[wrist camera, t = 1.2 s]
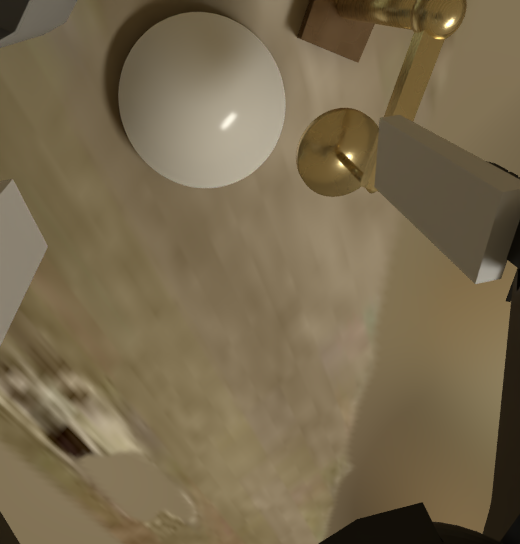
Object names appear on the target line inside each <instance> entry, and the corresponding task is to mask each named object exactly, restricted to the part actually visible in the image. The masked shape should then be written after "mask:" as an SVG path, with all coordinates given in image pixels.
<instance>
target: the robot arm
mask: <svg viewBox="0 0 520 544" xmlns="http://www.w3.org/2000/svg"><path fill="white" fill-rule="evenodd" d="M374 187H375V188H376V189H377V190H378V191H379V192H380V193H381V194H382V195H383V196H384V197H385V198H386V199H387V200H388V201H389V202H390V203H392V204H393V205H394V206H395V207H396V208H397V209H398V210H399V211H400V212H401V213H402V214H403V215H404V216H405V217H406V218H407V219H408V220H409V221H410V222H411V223H412V224H413V225H415V227H416V228H418V229H419V230H420V231H421V232H422V233H423V234H424V235H425V236H426V237H427V238H428V239H429V240H430V241H431V242H432V243H433V244H434V245H435V246H436V247H438V249H440V251H442V252H443V253H444V254H445V255H446V256H447V257H448V258H449V259H450V260H451V261H452V262H453V263H454V264H455V265H456V266H457V267H458V268H459V269H460V270H461V271H462V272H463V273H464V274H465V275H466V276H467V277H469V278H470V279H471V280H472V281H473V282H474V283H475V284H478V283H482V282H487V281H492V280H496V279H501V277H502V274H503V271H504V268H505V265H506V263H507V260H509V261H510V262H511V263H512V264H514V265H515V266H516V267H517V268H518V269H517V272H516V274H515V277H514V279H513V282H512V285H511V288H510V290H509V293H508V296H507V298H506V301H508V302H510V301H511V309H510V319H509V329H508V340H507V350H506V360H505V370H504V380H503V390H502V400H501V412H500V420H499V430H498V442H497V452H496V461H495V471H494V481H493V491H492V500H491V505H490V510H489V513H488V517H487V520H486V524H485V527H484V531H483V534H481V533H479V532H477V531H473V530H470V529H467V528H464V527H461V526H457V525H452V524H446V523H441V522H432V520H431V518H430V516H429V515H428V512H427V510H426V508H425V506H424V504H423V503H418V504H414V505H410V506H407V507H403V508H399V509H395V510H391V511H387V512H383V513H379V514H376V515H372V516H368V517H364V518H360V519H357V520H355V521H354V522H352V523H350V524H349V525H347V526H346V527H344V528H343V529H341V530H339V531H338V532H337V533H335V534H333V535H332V536H330V537H328V538H327V539H325V540H324V541H322V542H320V543H319V544H520V177H519V178H518V175H516V174H514V173H512V172H508V170H506V169H505V168H503V167H501V166H499V165H497V164H495V163H491V162H487V161H484V160H482V159H481V158H479V157H477V156H475V155H473V154H471V153H470V152H468V151H466V150H464V149H462V148H460V147H458V146H457V145H455V144H453V143H451V142H449V141H447V140H446V139H444V138H442V137H440V136H438V135H436V134H434V133H433V132H431V131H429V130H427V129H425V128H423V127H421V126H420V125H418V124H416V123H414V122H412V121H410V120H408V119H407V118H405V117H403V116H401V115H394V116H388V117H382V118H380V122H379V135H378V147H377V160H376V172H375V185H374ZM47 247H48V246H47V244H46V242H45V240H44V238H43V236H42V234H41V232H40V230H39V229H38V227H37V225H36V223H35V221H34V219H33V217H32V215H31V213H30V211H29V209H28V207H27V205H26V204H25V202H24V200H23V198H22V196H21V194H20V192H19V190H18V188H17V186H16V184H15V182H14V180H13V179H10V180H4V181H0V345H1V343H2V341H3V339H4V337H5V335H6V333H7V331H8V329H9V327H10V324H11V322H12V320H13V318H14V316H15V314H16V312H17V310H18V308H19V306H20V304H21V302H22V299H23V297H24V295H25V293H26V291H27V289H28V287H29V285H30V283H31V281H32V279H33V277H34V274H35V272H36V270H37V268H38V266H39V264H40V262H41V260H42V258H43V256H44V254H45V252H46V249H47ZM0 544H20V543H19V541H18V540H17V538H16V537H15V535H14V533H13V532H12V530H11V528H10V527H9V525H8V523H7V522H6V520H5V518H4V517H3V515H2V514H1V512H0Z"/></svg>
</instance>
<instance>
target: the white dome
mask: <svg viewBox="0 0 520 544" xmlns="http://www.w3.org/2000/svg"><path fill="white" fill-rule="evenodd" d="M118 100H119V110H120V116H121V120H122V123H123V126H124V129H125V132H126V134H127V136H128V138H129V141H130V142H131V144H132V145H133V147H134V149H135V150H136V152H137V153H138V154H139V155H140V157H141V158H142V159H143V160H144V161H145V162H146V163H147V164H148V165H149V166H150V167H151V168H153V169H154V170H155V171H156V172H158V173H159V174H161V175H162V176H164V177H166V178H167V179H170V180H172V181H174V182H176V183H179V184H182V185H185V186H190V187H195V188H216V187H222V186H226V185H229V184H232V183H235V182H237V181H239V180H242V179H243V178H245V177H247V176H248V175H250V174H251V173H253V172H254V171H255V170H256V169H258V168H259V167H260V166H261V165H262V164H263V163H264V162H265V160H266V159H267V158H268V156H269V155H270V154H271V152H272V151H273V149H274V147H275V145H276V144H277V141H278V139H279V137H280V134H281V131H282V127H283V123H284V117H285V91H284V86H283V81H282V78H281V75H280V72H279V69H278V67H277V65H276V62H275V60H274V58H273V57H272V55H271V54H270V52H269V51H268V49H267V48H266V46H265V45H264V44H263V43H262V42H261V40H260V39H259V38H258V37H257V36H255V35H254V34H253V33H252V32H251V31H250V30H248V29H247V28H246V27H244V26H243V25H241V24H240V23H238V22H236V21H234V20H232V19H230V18H227V17H224V16H221V15H218V14H214V13H208V12H187V13H181V14H177V15H174V16H171V17H168V18H166V19H164V20H162V21H160V22H158V23H157V24H155V25H154V26H153V27H151V28H150V29H148V30H147V31H146V32H145V33H144V34H143V35H142V36H141V37H140V38H139V39H138V41H137V42H136V43H135V45H134V46H133V48H132V49H131V51H130V53H129V54H128V56H127V58H126V60H125V63H124V66H123V69H122V72H121V76H120V81H119V91H118Z"/></svg>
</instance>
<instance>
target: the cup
mask: <svg viewBox="0 0 520 544" xmlns="http://www.w3.org/2000/svg"><path fill="white" fill-rule="evenodd" d="M76 2H77V0H0V48H1V47H4V46H8V45H11V44H14V43H18V42H21V41H24V40H28V39H31V38H34V37H37V36H41V35H44V34H46V33H47V32H49V31H51V30H53V29H54V28H56V27H58V26H60V25H61V24H63V23H65V22H66V21H67V19H68V17H69V15H70V13H71V11H72V10H73V8H74V6H75V4H76Z"/></svg>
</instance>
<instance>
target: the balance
mask: <svg viewBox="0 0 520 544" xmlns="http://www.w3.org/2000/svg"><path fill="white" fill-rule="evenodd" d="M466 8H467V1H466V0H310V1H309V4H308V7H307V10H306V13H305V16H304V19H303V22H302V25H301V28H300V31H299V34H298V37H297V38H300V39H302V40H305V41H307V42H309V43H312V44H314V45H317V46H319V47H322V48H324V49H326V50H329V51H331V52H334V53H336V54H339V55H341V56H343V57H346V58H348V59H351V60H353V61H356V62H359V60H360V57H361V55H362V53H363V50H364V48H365V46H366V43H367V41H368V38H369V36H370V34H371V31H372V29H373V27H374V24H379V25H385V26H392V27H398V28H404V29H411V30H413V32H414V35H413V38H412V40H411V43H410V46H409V49H408V51H407V54H406V57H405V60H404V62H403V65H402V68H401V71H400V74H399V76H398V79H397V82H396V85H395V87H394V90H393V93H392V96H391V99H390V101H389V104H388V107H387V110H386V112H385V115H384V117H388V116H394V115H401V116H403V117H405V118H407V119H408V120H410V121H412V122H413V120H414V118H415V115H416V112H417V110H418V107H419V105H420V102H421V99H422V97H423V94H424V92H425V89H426V86H427V84H428V81H429V79H430V76H431V73H432V71H433V68H434V66H435V63H436V60H437V58H438V55H439V52H440V50H441V47H442V45H443V42H444V40H445V39H447V38H448V37H450V36H451V35H452V34H453V33H454V32H455V31H456V30H457V29H458V28H459V27H460V25H461V23H462V21H463V19H464V17H465V13H466ZM378 135H379V128H378V126H377V125H376V123H375V122H374V121H373V120H372V119H371V118H370V117H369V116H367V115H366V114H364V113H363V112H361V111H358V110H356V109H352V108H338V109H333V110H330V111H328V112H326V113H323V114H322V115H320V116H319V117H317V118H316V119H315V120H314V121H313V122H312V123H311V124H310V125H309V126H308V127H307V128H306V130H305V131H304V133H303V134H302V136H301V138H300V141H299V144H298V147H297V152H296V164H297V169H298V171H299V174H300V176H301V178H302V179H303V181H304V182H305V184H306V185H307V186H308V187H309V188H310V189H311V190H313V191H314V192H316V193H318V194H321V195H324V196H331V197H335V196H342V195H346V194H349V193H351V192H353V191H355V190H357V189H359V188H360V187H361V186H362V187H365V188H366V189H367V191H368V192H369V193H375V192H376V191H378V190H377V189H376V188H375V187H374V185H375V172H376V160H377V147H378ZM378 192H379V191H378Z"/></svg>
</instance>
